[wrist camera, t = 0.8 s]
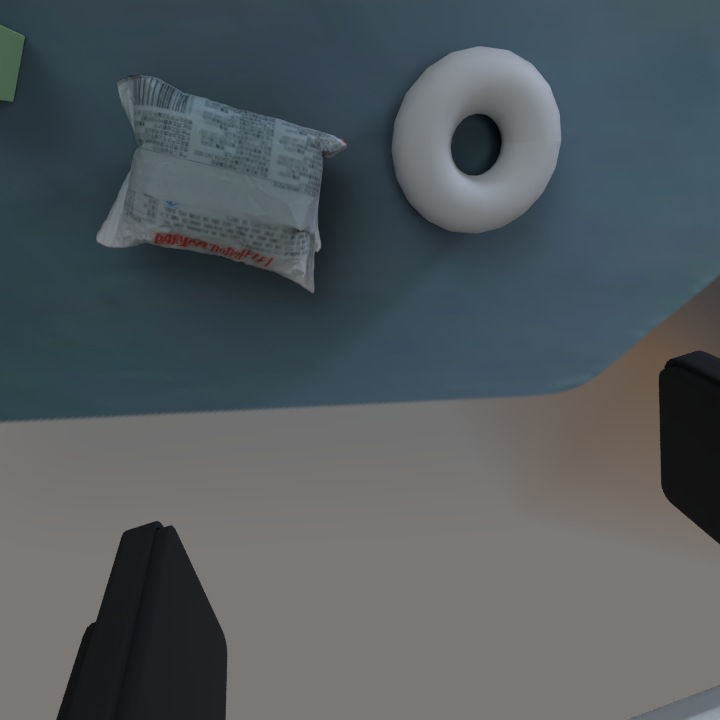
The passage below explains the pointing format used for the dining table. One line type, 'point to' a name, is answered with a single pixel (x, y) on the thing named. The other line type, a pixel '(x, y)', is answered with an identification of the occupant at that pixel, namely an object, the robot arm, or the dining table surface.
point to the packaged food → (219, 181)
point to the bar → (9, 62)
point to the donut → (439, 121)
